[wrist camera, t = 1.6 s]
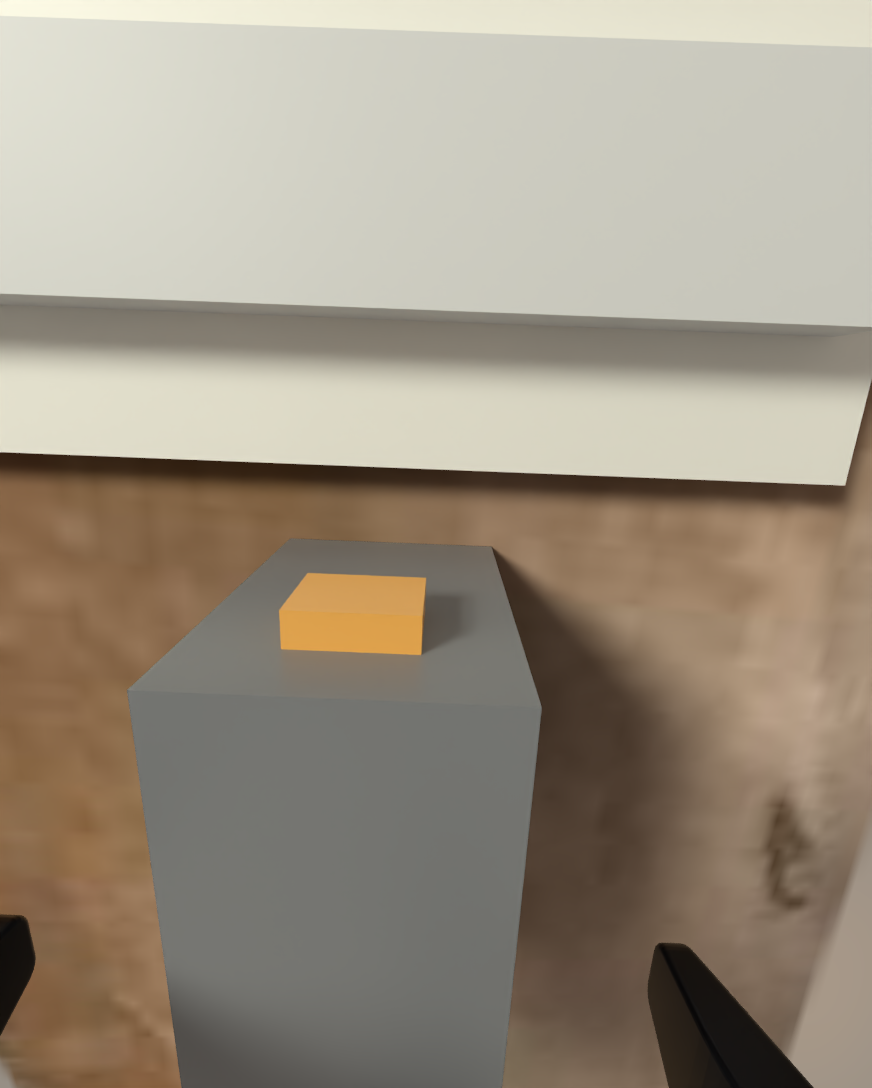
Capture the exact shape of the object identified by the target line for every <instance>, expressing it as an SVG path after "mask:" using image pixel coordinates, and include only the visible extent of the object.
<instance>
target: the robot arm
mask: <svg viewBox="0 0 872 1088" xmlns="http://www.w3.org/2000/svg"><path fill="white" fill-rule="evenodd" d="M35 959H36V957H35V951H34V946H33V942H32V937H31V933H30V928H29V924H28V921H27V919H26V918H25V917H24V916H22V915H3V914H0V1035H1V1034H2V1032H3V1030H4V1028H5V1026H6V1024H7V1022H8V1020H9V1018H10V1016H11V1014H12V1012H13V1011H14V1009H15V1007H16V1005H17V1003H18V1001H19V999H20V997H21V995H22V993H23V991H24V989H25V988H26V986H27V984H28V982H29V980H30V978H31V975H32V973H33V970H34V966H35ZM648 999H649V1005H650V1010H651V1014H652V1018H653V1022H654V1027H655V1031H656V1035H657V1039H658V1044H659V1048H660V1052H661V1056H662V1061H663V1065H664V1069H665V1073H666V1078H667V1082H668V1086H669V1088H813V1086H812V1085H811V1084H810V1083H809V1082H808V1081H807V1080H806V1078H805V1077H804V1076H803V1075H802V1074H801V1073H800V1072H799V1071H798V1070H797V1068H796V1067H795V1066H794V1065H793V1064H792V1063H791V1061H790V1060H789V1059H788V1058H787V1057H786V1056H785V1055H784V1054H783V1052H782V1051H781V1050H780V1049H779V1048H778V1047H777V1046H776V1045H775V1043H774V1042H773V1041H772V1040H771V1039H770V1038H769V1037H768V1035H767V1034H766V1033H765V1032H764V1031H763V1030H762V1029H761V1028H760V1026H759V1025H758V1024H757V1023H756V1022H755V1021H754V1020H753V1018H752V1017H751V1016H750V1015H749V1014H748V1013H747V1012H746V1011H745V1009H744V1008H743V1007H742V1006H741V1005H740V1004H739V1003H738V1002H737V1000H736V999H735V998H734V997H733V996H732V995H731V994H730V992H729V991H728V990H727V989H726V988H725V987H724V986H723V985H722V983H721V982H720V981H719V980H718V979H717V978H716V977H715V975H714V974H713V973H712V972H711V971H710V970H709V969H708V968H707V966H706V965H705V964H704V963H703V962H702V961H701V960H700V959H699V957H698V956H697V955H696V954H695V953H694V952H693V951H692V950H691V949H690V948H689V947H688V946H686V945H684V944H679V943H659V944H658V945H657V946H656V947H655V950H654V954H653V960H652V965H651V970H650V975H649V980H648Z"/></svg>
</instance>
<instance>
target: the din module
mask: <svg viewBox="0 0 872 1088" xmlns="http://www.w3.org/2000/svg"><path fill="white" fill-rule="evenodd" d="M127 693H128V700H129V707H130V715H131V722H132V729H133V737H134V744H135V751H136V759H137V766H138V773H139V780H140V788H141V795H142V802H143V810H144V817H145V824H146V831H147V839H148V846H149V853H150V861H151V868H152V875H153V882H154V890H155V897H156V904H157V912H158V919H159V926H160V933H161V941H162V948H163V955H164V963H165V970H166V977H167V985H168V992H169V999H170V1006H171V1014H172V1021H173V1028H174V1036H175V1043H176V1050H177V1057H178V1065H179V1072H180V1079H181V1087H182V1088H502V1082H503V1073H504V1063H505V1054H506V1044H507V1034H508V1025H509V1015H510V1006H511V996H512V987H513V977H514V968H515V958H516V949H517V939H518V930H519V920H520V910H521V901H522V891H523V882H524V872H525V863H526V853H527V844H528V834H529V825H530V815H531V805H532V796H533V786H534V777H535V767H536V758H537V748H538V739H539V729H540V720H541V710H542V707H541V703H540V700H539V697H538V694H537V691H536V687H535V684H534V681H533V678H532V675H531V671H530V668H529V665H528V662H527V659H526V655H525V652H524V649H523V646H522V643H521V640H520V636H519V633H518V630H517V627H516V624H515V620H514V617H513V614H512V611H511V608H510V604H509V601H508V598H507V595H506V592H505V588H504V585H503V582H502V579H501V576H500V573H499V569H498V566H497V563H496V560H495V557H494V553H493V550H492V547H487V546H462V545H437V544H412V543H387V542H362V541H337V540H312V539H289V540H288V541H287V542H286V543H285V544H284V545H283V546H282V547H281V548H280V549H279V550H277V551H276V552H275V553H274V554H273V555H272V556H271V557H270V558H269V559H268V560H267V561H266V562H265V563H263V564H262V565H261V566H260V567H259V568H258V569H257V570H256V571H255V572H254V573H253V574H252V575H251V576H249V577H248V578H247V579H246V580H245V581H244V582H243V583H242V584H241V585H240V586H239V587H238V588H237V589H235V590H234V591H233V592H232V593H231V594H230V595H229V596H228V597H227V598H226V599H225V600H224V601H223V602H222V603H220V604H219V605H218V606H217V607H216V608H215V609H214V610H213V611H212V612H211V613H210V614H209V615H208V616H206V617H205V618H204V619H203V620H202V621H201V622H200V623H199V624H198V625H197V626H196V627H195V628H194V629H192V630H191V631H190V632H189V633H188V634H187V635H186V636H185V637H184V638H183V639H182V640H181V641H180V642H179V643H177V644H176V645H175V646H174V647H173V648H172V649H171V650H170V651H169V652H168V653H167V654H166V655H165V656H163V657H162V658H161V659H160V660H159V661H158V662H157V663H156V664H155V665H154V666H153V667H152V668H151V669H149V670H148V671H147V672H146V673H145V674H144V675H143V676H142V677H141V678H140V679H139V680H138V681H137V682H136V683H134V684H133V685H132V686H131V687H130V688H129V689H128V690H127Z"/></svg>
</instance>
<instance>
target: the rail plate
mask: <svg viewBox="0 0 872 1088" xmlns="http://www.w3.org/2000/svg"><path fill="white" fill-rule="evenodd" d="M871 380H872V0H0V452H9V453H34V454H60V455H85V456H110V457H135V458H161V459H186V460H211V461H237V462H262V463H287V464H313V465H338V466H363V467H388V468H414V469H439V470H464V471H490V472H515V473H540V474H565V475H591V476H616V477H641V478H667V479H692V480H717V481H742V482H768V483H793V484H818V485H844V486H845V483H846V479H847V475H848V471H849V467H850V463H851V459H852V455H853V451H854V447H855V444H856V440H857V436H858V432H859V428H860V424H861V420H862V416H863V412H864V408H865V404H866V400H867V396H868V392H869V388H870V384H871Z"/></svg>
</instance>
